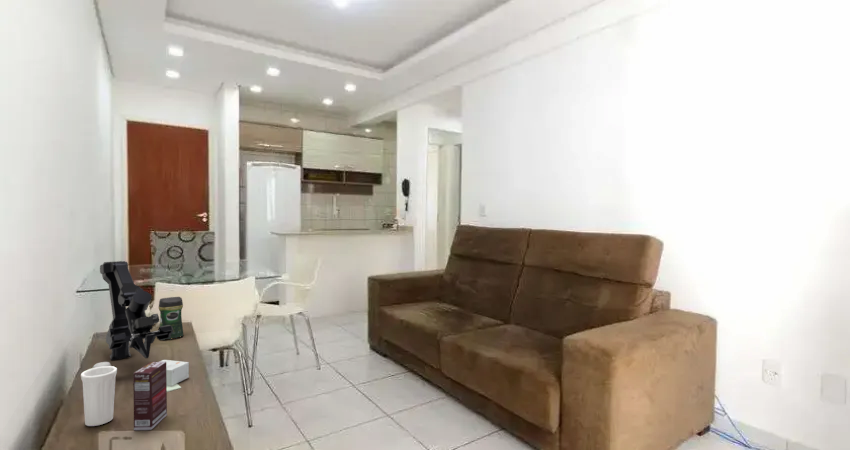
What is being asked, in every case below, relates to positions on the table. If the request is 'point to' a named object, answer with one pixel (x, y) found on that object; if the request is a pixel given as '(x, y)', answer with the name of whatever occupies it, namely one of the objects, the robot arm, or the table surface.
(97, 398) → the cup
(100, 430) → the table surface
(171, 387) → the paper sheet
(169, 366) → the small box
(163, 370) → the supplement box
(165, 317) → the coffee jar
